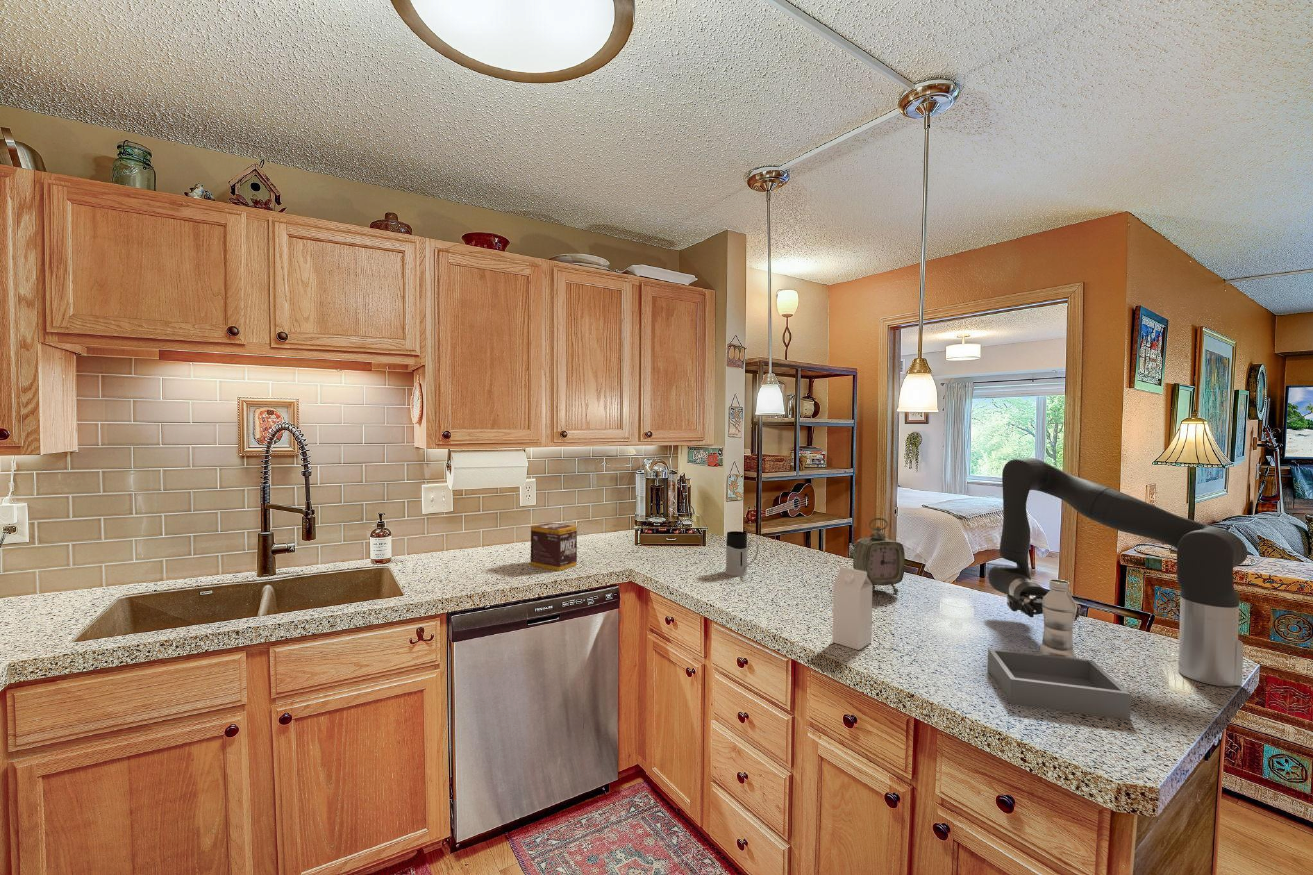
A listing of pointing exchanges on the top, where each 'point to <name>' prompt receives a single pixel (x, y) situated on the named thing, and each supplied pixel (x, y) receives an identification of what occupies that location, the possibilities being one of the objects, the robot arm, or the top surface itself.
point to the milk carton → (852, 608)
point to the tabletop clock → (880, 558)
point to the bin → (1058, 683)
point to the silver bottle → (1058, 620)
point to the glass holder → (737, 553)
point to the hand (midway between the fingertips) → (1053, 615)
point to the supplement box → (554, 546)
